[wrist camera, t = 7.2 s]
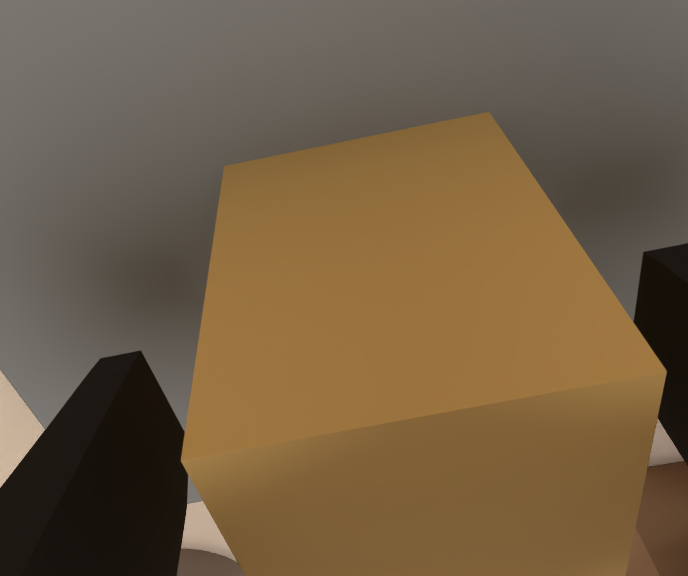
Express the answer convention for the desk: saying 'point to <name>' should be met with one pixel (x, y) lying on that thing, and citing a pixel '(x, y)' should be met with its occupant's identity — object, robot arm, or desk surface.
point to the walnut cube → (662, 524)
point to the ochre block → (414, 368)
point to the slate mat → (295, 144)
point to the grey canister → (206, 564)
